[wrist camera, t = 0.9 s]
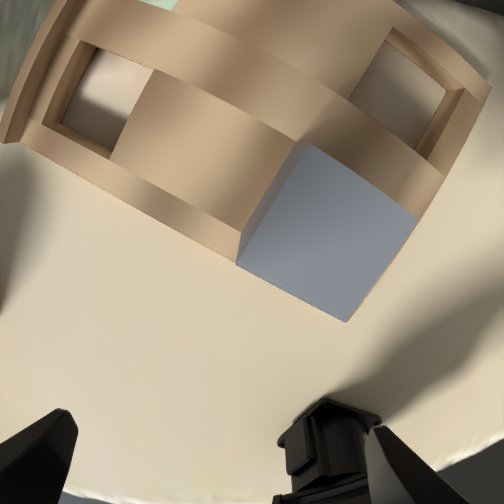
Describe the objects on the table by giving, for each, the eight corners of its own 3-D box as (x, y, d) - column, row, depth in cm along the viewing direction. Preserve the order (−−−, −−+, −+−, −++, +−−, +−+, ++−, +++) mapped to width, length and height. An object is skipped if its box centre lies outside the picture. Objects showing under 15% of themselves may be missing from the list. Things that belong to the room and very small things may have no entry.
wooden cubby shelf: (472, 89, 14) (507, 85, 11) (339, 304, 19) (353, 337, 16) (158, -77, 11) (142, -105, 7) (31, 135, 16) (-5, 138, 12)
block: (382, 198, 15) (418, 219, 11) (327, 280, 16) (344, 322, 12) (296, 141, 14) (309, 143, 10) (241, 232, 15) (235, 264, 12)
